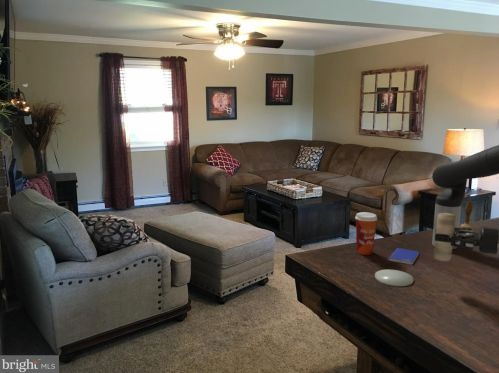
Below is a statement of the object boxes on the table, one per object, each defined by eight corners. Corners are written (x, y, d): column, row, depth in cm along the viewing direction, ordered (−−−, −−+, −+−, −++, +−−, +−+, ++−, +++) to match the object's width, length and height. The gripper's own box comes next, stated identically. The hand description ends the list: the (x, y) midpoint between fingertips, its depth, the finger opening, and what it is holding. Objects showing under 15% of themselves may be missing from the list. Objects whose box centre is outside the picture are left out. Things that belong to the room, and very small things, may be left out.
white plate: (377, 268, 146) (377, 267, 146) (414, 274, 141) (414, 272, 141) (372, 282, 135) (372, 280, 135) (411, 289, 130) (412, 287, 130)
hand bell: (469, 234, 183) (472, 198, 179) (480, 240, 175) (484, 203, 171) (450, 234, 182) (454, 199, 179) (461, 241, 174) (465, 203, 171)
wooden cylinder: (433, 254, 134) (437, 212, 131) (451, 256, 132) (455, 213, 129) (433, 259, 129) (437, 216, 126) (451, 262, 127) (455, 218, 124)
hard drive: (412, 261, 149) (418, 251, 160) (388, 257, 153) (396, 247, 164) (412, 266, 150) (418, 255, 160) (388, 261, 154) (396, 251, 164)
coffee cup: (360, 256, 157) (362, 218, 154) (349, 249, 165) (351, 212, 162) (380, 254, 159) (382, 216, 156) (368, 247, 167) (370, 211, 164)
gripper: (497, 222, 129) (436, 216, 136) (502, 237, 116) (435, 229, 123) (494, 246, 130) (434, 238, 137) (499, 262, 118) (433, 253, 125)
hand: (435, 234), depth 130 cm, fingers closed on wooden cylinder, 5 cm apart
